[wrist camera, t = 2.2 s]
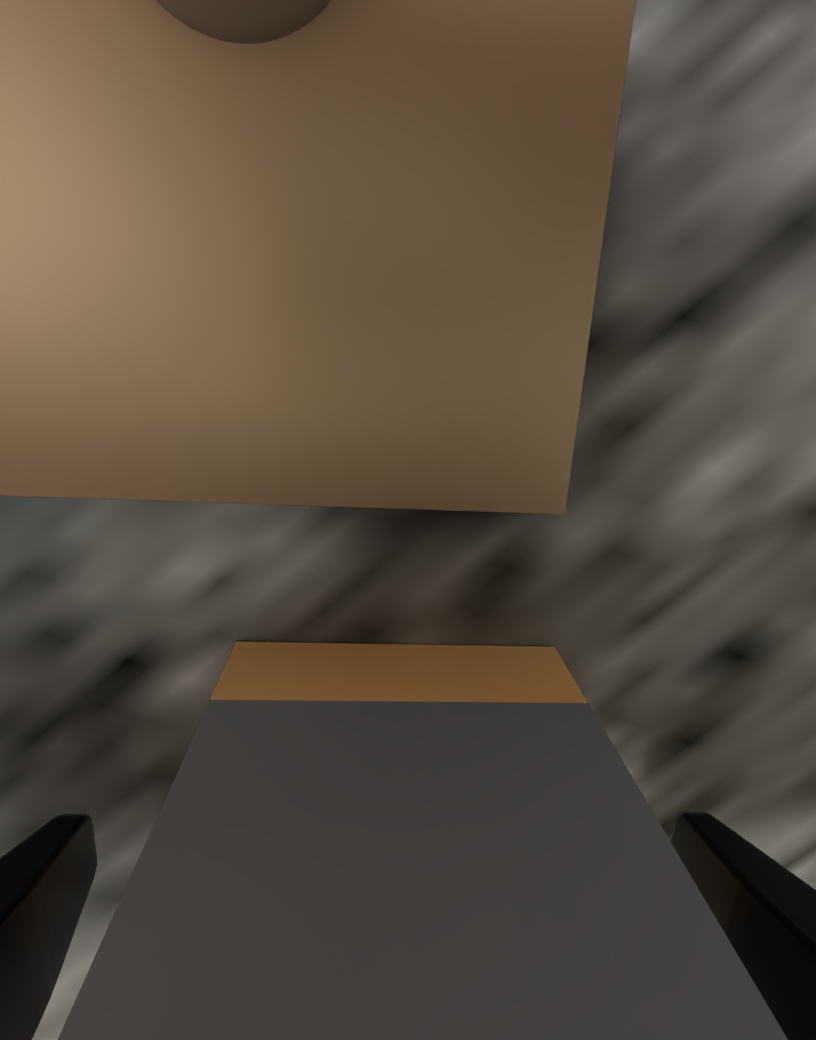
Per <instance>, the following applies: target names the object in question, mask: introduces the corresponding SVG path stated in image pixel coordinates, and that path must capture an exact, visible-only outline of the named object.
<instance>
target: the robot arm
mask: <svg viewBox="0 0 816 1040" xmlns="http://www.w3.org/2000/svg"><path fill="white" fill-rule="evenodd" d="M671 844H672V845H673V847H674V849H675V850H676V852H677V854H678V855H679V857H680V859H681V860H682V862H683V864H684V865H685V867H686V869H687V870H688V872H689V874H690V876H691V877H692V879H693V881H694V882H695V884H696V886H697V887H698V889H699V891H700V892H701V894H702V896H703V897H704V899H705V901H706V902H707V904H708V906H709V908H710V909H711V911H712V913H713V914H714V916H715V918H716V919H717V921H718V923H719V924H720V926H721V928H722V929H723V931H724V933H725V934H726V936H727V938H728V940H729V941H730V943H731V945H732V946H733V948H734V950H735V951H736V953H737V955H738V956H739V958H740V960H741V961H742V963H743V965H744V966H745V968H746V970H747V972H748V973H749V975H750V977H751V978H752V980H753V982H754V983H755V985H756V987H757V988H758V990H759V992H760V993H761V995H762V997H763V998H764V1000H765V1002H766V1004H767V1005H768V1007H769V1009H770V1010H771V1012H772V1014H773V1015H774V1017H775V1019H776V1020H777V1022H778V1024H779V1025H780V1027H781V1029H782V1030H783V1032H784V1034H785V1036H786V1037H787V1039H788V1040H816V890H815V889H813V888H812V887H811V886H809V885H808V884H806V883H805V882H804V881H802V880H801V879H800V878H798V877H797V876H795V875H794V874H793V873H791V872H790V871H788V870H787V869H786V868H784V867H783V866H781V865H780V864H779V863H777V862H776V861H774V860H773V859H772V858H770V857H769V856H768V855H766V854H765V853H763V852H762V851H761V850H759V849H758V848H756V847H755V846H754V845H752V844H751V843H749V842H748V841H747V840H745V839H744V838H742V837H741V836H740V835H738V834H737V833H736V832H734V831H733V830H731V829H730V828H729V827H727V826H726V825H724V824H723V823H722V822H720V821H719V820H717V819H716V818H715V817H713V816H712V815H710V814H708V813H706V812H681V813H680V814H679V815H678V816H677V818H676V821H675V826H674V830H673V834H672V838H671ZM96 866H97V853H96V846H95V838H94V831H93V823H92V820H91V818H90V816H89V815H86V814H62V815H59V816H57V817H55V818H53V819H52V820H50V821H49V822H48V823H46V824H45V825H44V826H42V827H41V828H40V829H38V830H37V831H36V832H34V833H33V834H32V835H30V836H29V837H28V838H26V839H25V840H24V841H22V842H21V843H20V844H18V845H17V846H16V847H14V848H13V849H12V850H10V851H9V852H8V853H6V854H5V855H4V856H2V857H1V858H0V1040H32V1038H33V1036H34V1033H35V1031H36V1029H37V1027H38V1025H39V1023H40V1020H41V1018H42V1016H43V1014H44V1011H45V1009H46V1007H47V1004H48V1002H49V1000H50V997H51V995H52V992H53V990H54V987H55V984H56V982H57V979H58V976H59V974H60V971H61V968H62V965H63V962H64V960H65V957H66V954H67V951H68V949H69V946H70V943H71V940H72V937H73V935H74V932H75V929H76V926H77V923H78V921H79V918H80V915H81V912H82V910H83V907H84V904H85V901H86V898H87V896H88V893H89V890H90V887H91V884H92V882H93V879H94V876H95V872H96Z"/></svg>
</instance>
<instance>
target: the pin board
mask: <svg viewBox="0 0 816 1040" xmlns="http://www.w3.org/2000/svg"><path fill="white" fill-rule="evenodd" d="M635 2H636V0H0V495H3V496H33V497H63V498H93V499H123V500H153V501H183V502H213V503H243V504H273V505H302V506H332V507H362V508H392V509H422V510H452V511H482V512H512V513H542V514H565V509H566V502H567V495H568V488H569V480H570V473H571V466H572V459H573V451H574V444H575V437H576V430H577V422H578V415H579V408H580V401H581V393H582V386H583V379H584V372H585V364H586V357H587V350H588V343H589V335H590V328H591V321H592V314H593V307H594V299H595V292H596V285H597V278H598V270H599V263H600V256H601V249H602V241H603V234H604V227H605V220H606V212H607V205H608V198H609V191H610V183H611V176H612V169H613V162H614V154H615V147H616V140H617V133H618V125H619V118H620V111H621V104H622V97H623V89H624V82H625V75H626V68H627V60H628V53H629V46H630V39H631V31H632V24H633V17H634V10H635Z"/></svg>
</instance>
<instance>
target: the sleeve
mask: <svg viewBox="0 0 816 1040" xmlns="http://www.w3.org/2000/svg"><path fill="white" fill-rule="evenodd" d="M58 1040H788V1039H787V1037H786V1036H785V1034H784V1032H783V1030H782V1029H781V1027H780V1025H779V1024H778V1022H777V1020H776V1019H775V1017H774V1015H773V1014H772V1012H771V1010H770V1009H769V1007H768V1005H767V1004H766V1002H765V1000H764V998H763V997H762V995H761V993H760V992H759V990H758V988H757V987H756V985H755V983H754V982H753V980H752V978H751V977H750V975H749V973H748V972H747V970H746V968H745V966H744V965H743V963H742V961H741V960H740V958H739V956H738V955H737V953H736V951H735V950H734V948H733V946H732V945H731V943H730V941H729V940H728V938H727V936H726V934H725V933H724V931H723V929H722V928H721V926H720V924H719V923H718V921H717V919H716V918H715V916H714V914H713V913H712V911H711V909H710V908H709V906H708V904H707V902H706V901H705V899H704V897H703V896H702V894H701V892H700V891H699V889H698V887H697V886H696V884H695V882H694V881H693V879H692V877H691V876H690V874H689V872H688V870H687V869H686V867H685V865H684V864H683V862H682V860H681V859H680V857H679V855H678V854H677V852H676V850H675V849H674V847H673V845H672V844H671V842H670V840H669V838H668V837H667V835H666V833H665V832H664V830H663V828H662V827H661V825H660V823H659V822H658V820H657V818H656V817H655V815H654V813H653V812H652V810H651V808H650V806H649V805H648V803H647V801H646V800H645V798H644V796H643V795H642V793H641V791H640V790H639V788H638V786H637V785H636V783H635V781H634V780H633V778H632V776H631V774H630V773H629V771H628V769H627V768H626V766H625V764H624V763H623V761H622V759H621V758H620V756H619V754H618V753H617V751H616V749H615V748H614V746H613V744H612V742H611V741H610V739H609V737H608V736H607V734H606V732H605V731H604V729H603V727H602V726H601V724H600V722H599V721H598V719H597V717H596V715H595V714H594V712H593V710H592V709H591V707H590V705H589V704H588V702H587V700H586V699H585V697H584V695H583V694H582V692H581V690H580V689H579V687H578V685H577V683H576V682H575V680H574V678H573V677H572V675H571V673H570V672H569V670H568V668H567V667H566V665H565V663H564V662H563V660H562V658H561V657H560V655H559V653H558V651H557V650H556V648H555V647H536V646H475V645H414V644H353V643H292V642H236V643H235V645H234V647H233V649H232V652H231V654H230V656H229V658H228V661H227V663H226V665H225V667H224V669H223V672H222V674H221V676H220V678H219V681H218V683H217V685H216V687H215V690H214V692H213V694H212V696H211V699H210V701H209V703H208V705H207V708H206V710H205V712H204V714H203V716H202V719H201V721H200V723H199V725H198V728H197V730H196V732H195V734H194V737H193V739H192V741H191V743H190V746H189V748H188V750H187V752H186V754H185V757H184V759H183V761H182V763H181V766H180V768H179V770H178V772H177V775H176V777H175V779H174V781H173V784H172V786H171V788H170V790H169V793H168V795H167V797H166V799H165V801H164V804H163V806H162V808H161V810H160V813H159V815H158V817H157V819H156V822H155V824H154V826H153V828H152V831H151V833H150V835H149V837H148V839H147V842H146V844H145V846H144V848H143V851H142V853H141V855H140V857H139V860H138V862H137V864H136V866H135V869H134V871H133V873H132V875H131V878H130V880H129V882H128V884H127V886H126V889H125V891H124V893H123V895H122V898H121V900H120V902H119V904H118V907H117V909H116V911H115V913H114V916H113V918H112V920H111V922H110V924H109V927H108V929H107V931H106V933H105V936H104V938H103V940H102V942H101V945H100V947H99V949H98V951H97V954H96V956H95V958H94V960H93V963H92V965H91V967H90V969H89V971H88V974H87V976H86V978H85V980H84V983H83V985H82V987H81V989H80V992H79V994H78V996H77V998H76V1001H75V1003H74V1005H73V1007H72V1010H71V1012H70V1014H69V1016H68V1018H67V1021H66V1023H65V1025H64V1027H63V1030H62V1032H61V1034H60V1036H59V1039H58Z"/></svg>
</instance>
